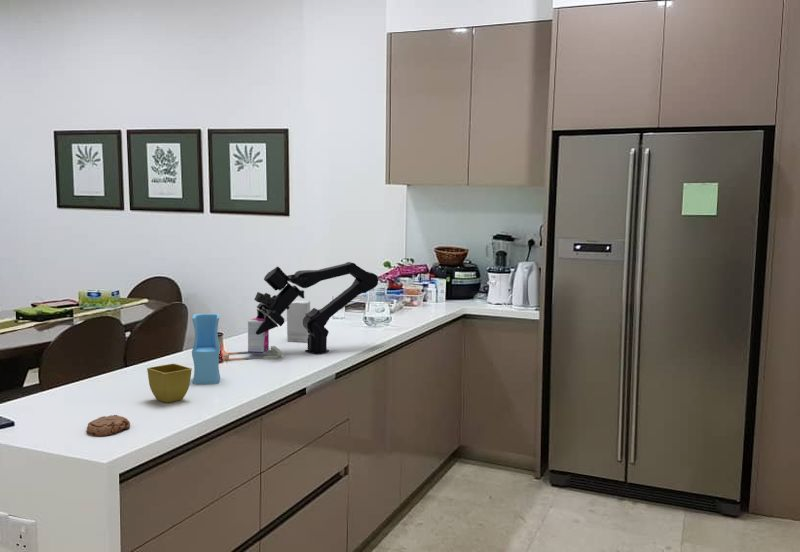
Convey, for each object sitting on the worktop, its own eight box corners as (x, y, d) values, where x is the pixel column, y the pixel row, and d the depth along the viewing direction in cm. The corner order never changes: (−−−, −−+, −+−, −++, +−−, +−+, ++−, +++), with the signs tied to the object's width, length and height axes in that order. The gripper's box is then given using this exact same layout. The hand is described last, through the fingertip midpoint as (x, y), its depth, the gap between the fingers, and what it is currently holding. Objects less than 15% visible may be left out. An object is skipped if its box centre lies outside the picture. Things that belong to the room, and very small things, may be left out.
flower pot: (174, 393, 209) (174, 362, 208) (192, 399, 203) (192, 368, 202) (146, 399, 202) (146, 367, 201) (164, 406, 196) (164, 373, 195)
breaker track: (274, 351, 267) (274, 345, 267) (282, 357, 258) (282, 351, 257) (219, 354, 259) (219, 349, 259) (224, 361, 250) (224, 355, 249)
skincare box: (310, 339, 290) (311, 300, 288) (307, 342, 284) (307, 302, 282) (290, 338, 291) (290, 299, 289) (285, 341, 284) (286, 302, 283)
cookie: (80, 438, 170) (80, 425, 170) (91, 424, 181) (91, 412, 181) (125, 437, 172) (125, 424, 172) (134, 423, 183) (133, 411, 182)
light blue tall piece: (192, 384, 219) (191, 318, 217) (194, 377, 227) (193, 313, 225) (219, 383, 221) (219, 318, 218) (220, 377, 228) (220, 313, 226)
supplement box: (263, 353, 256) (262, 321, 254) (247, 353, 257) (246, 320, 256) (269, 350, 262) (268, 318, 260) (254, 349, 263) (253, 317, 261)
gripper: (262, 280, 266) (232, 312, 263) (274, 287, 249) (242, 321, 246) (283, 301, 270) (254, 332, 267) (297, 308, 254) (266, 342, 250)
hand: (253, 331), depth 258 cm, fingers closed on supplement box, 8 cm apart
